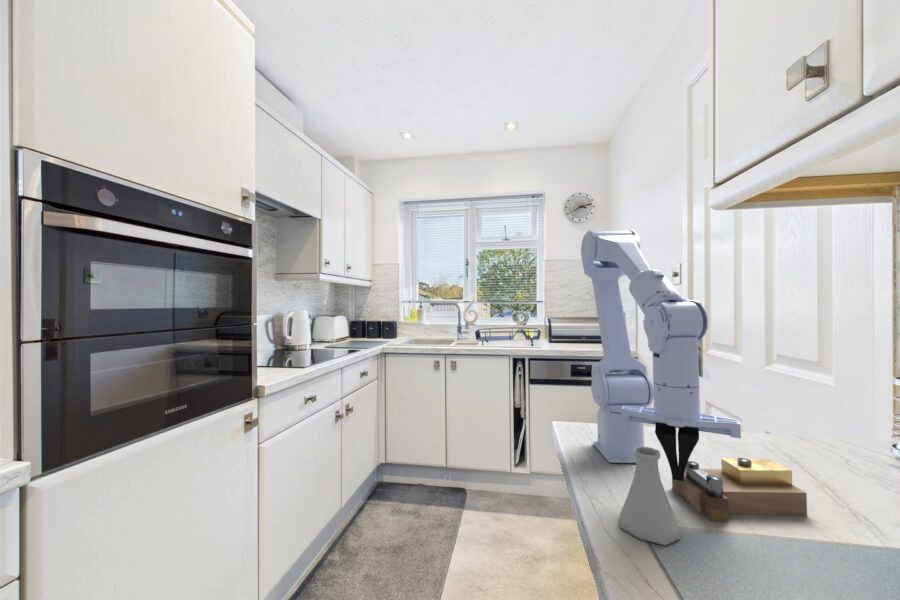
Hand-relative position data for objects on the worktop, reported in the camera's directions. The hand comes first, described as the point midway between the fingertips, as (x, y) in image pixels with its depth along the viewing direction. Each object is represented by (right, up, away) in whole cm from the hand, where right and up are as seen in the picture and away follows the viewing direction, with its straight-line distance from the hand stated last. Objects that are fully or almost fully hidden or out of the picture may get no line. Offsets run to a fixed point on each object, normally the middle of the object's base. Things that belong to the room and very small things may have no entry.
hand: (678, 477), depth 53 cm
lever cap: (+12, -1, +1) cm, 12 cm away
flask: (-7, -4, -6) cm, 10 cm away
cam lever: (+3, -1, -1) cm, 3 cm away
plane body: (+9, -4, 0) cm, 9 cm away
